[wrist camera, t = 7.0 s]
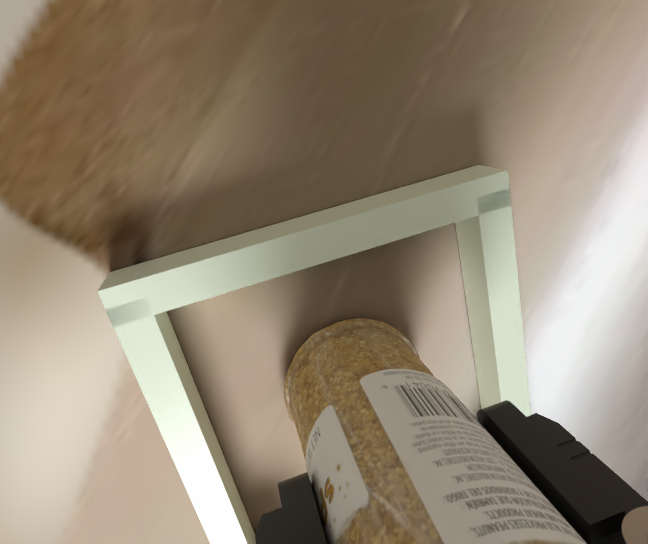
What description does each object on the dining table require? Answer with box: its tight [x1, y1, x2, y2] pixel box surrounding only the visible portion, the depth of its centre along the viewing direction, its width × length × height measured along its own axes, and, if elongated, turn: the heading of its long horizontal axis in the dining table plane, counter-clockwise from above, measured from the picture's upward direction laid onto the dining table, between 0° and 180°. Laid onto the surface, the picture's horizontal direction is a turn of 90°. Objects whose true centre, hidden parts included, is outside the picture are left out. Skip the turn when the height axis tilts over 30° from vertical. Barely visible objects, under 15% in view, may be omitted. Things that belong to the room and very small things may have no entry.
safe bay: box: [98, 165, 531, 544], centre depth 15 cm, size 11×10×2 cm
